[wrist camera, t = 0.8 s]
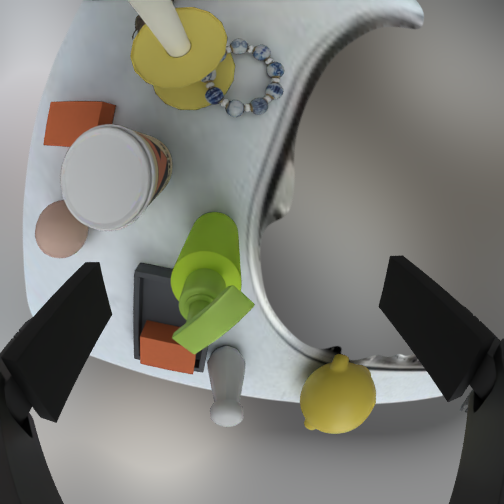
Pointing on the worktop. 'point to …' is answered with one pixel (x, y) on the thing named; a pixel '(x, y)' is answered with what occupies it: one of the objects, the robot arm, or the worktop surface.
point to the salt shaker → (226, 385)
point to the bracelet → (258, 104)
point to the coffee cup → (113, 176)
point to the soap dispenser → (209, 282)
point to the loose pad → (75, 120)
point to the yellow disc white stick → (180, 52)
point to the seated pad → (164, 349)
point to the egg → (59, 231)
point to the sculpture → (337, 396)
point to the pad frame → (157, 305)
